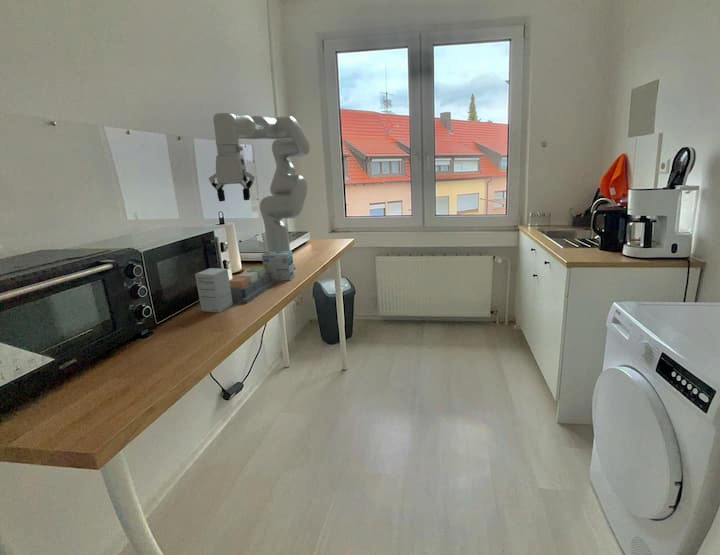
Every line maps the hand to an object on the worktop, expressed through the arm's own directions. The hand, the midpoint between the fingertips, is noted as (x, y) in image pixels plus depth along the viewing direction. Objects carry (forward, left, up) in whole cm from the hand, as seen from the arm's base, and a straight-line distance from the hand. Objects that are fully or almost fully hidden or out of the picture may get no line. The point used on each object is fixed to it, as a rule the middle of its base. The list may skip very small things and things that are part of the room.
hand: (234, 200), depth 153 cm
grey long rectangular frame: (+6, +5, -33) cm, 33 cm away
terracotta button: (+13, +5, -30) cm, 33 cm away
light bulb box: (-12, +9, -33) cm, 36 cm away
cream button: (+6, +5, -30) cm, 31 cm away
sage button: (-1, +5, -30) cm, 30 cm away
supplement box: (+23, +2, -33) cm, 40 cm away
